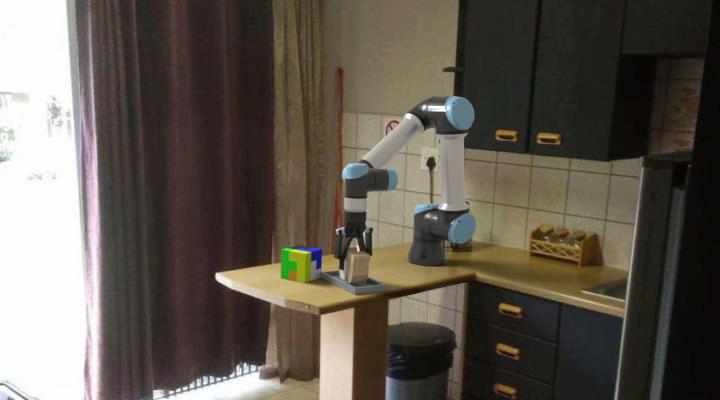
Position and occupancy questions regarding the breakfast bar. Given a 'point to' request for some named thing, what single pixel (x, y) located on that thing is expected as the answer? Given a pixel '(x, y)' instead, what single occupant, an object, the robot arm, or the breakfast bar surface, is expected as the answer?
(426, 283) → the breakfast bar surface
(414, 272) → the breakfast bar surface
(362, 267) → the toy train
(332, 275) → the tray
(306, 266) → the puzzle toy
